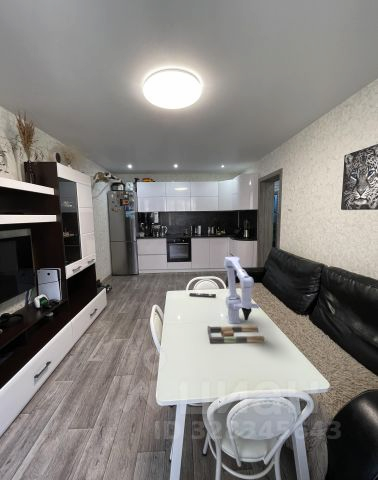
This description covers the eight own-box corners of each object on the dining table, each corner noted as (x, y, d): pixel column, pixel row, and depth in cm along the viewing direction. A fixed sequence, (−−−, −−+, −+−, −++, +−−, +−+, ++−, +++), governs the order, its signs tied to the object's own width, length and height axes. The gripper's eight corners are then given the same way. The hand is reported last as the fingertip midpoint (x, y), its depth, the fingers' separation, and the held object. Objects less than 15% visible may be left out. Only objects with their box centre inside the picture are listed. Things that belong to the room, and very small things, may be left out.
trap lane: (207, 330, 134) (207, 326, 134) (256, 329, 135) (256, 325, 134) (209, 343, 121) (209, 338, 121) (264, 342, 122) (264, 337, 121)
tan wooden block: (221, 334, 130) (221, 327, 129) (230, 333, 131) (230, 327, 130) (223, 340, 124) (223, 333, 123) (233, 339, 125) (233, 332, 124)
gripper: (235, 300, 121) (235, 323, 123) (261, 300, 121) (260, 322, 123) (233, 295, 128) (232, 317, 130) (257, 295, 128) (256, 316, 130)
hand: (245, 319), depth 127 cm, fingers closed
